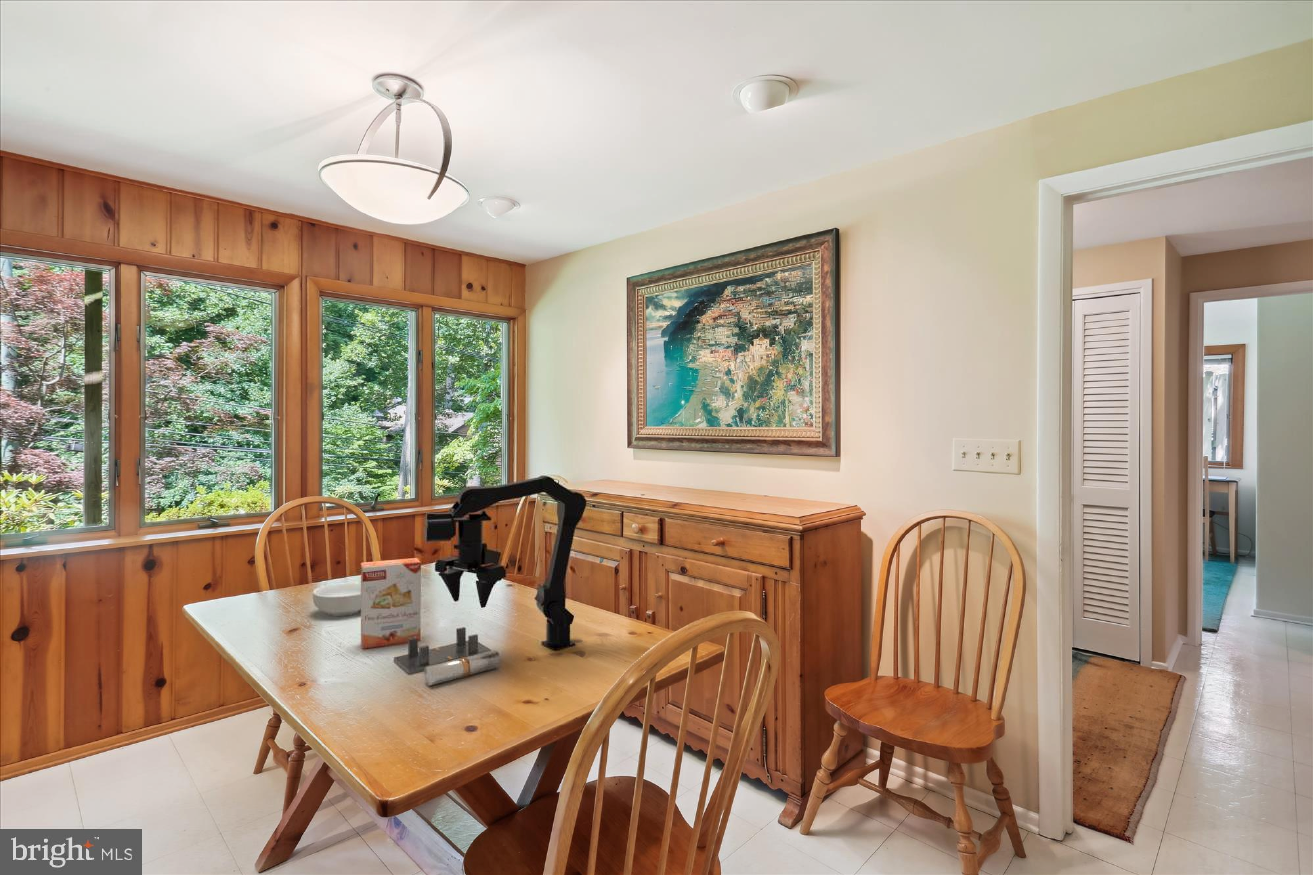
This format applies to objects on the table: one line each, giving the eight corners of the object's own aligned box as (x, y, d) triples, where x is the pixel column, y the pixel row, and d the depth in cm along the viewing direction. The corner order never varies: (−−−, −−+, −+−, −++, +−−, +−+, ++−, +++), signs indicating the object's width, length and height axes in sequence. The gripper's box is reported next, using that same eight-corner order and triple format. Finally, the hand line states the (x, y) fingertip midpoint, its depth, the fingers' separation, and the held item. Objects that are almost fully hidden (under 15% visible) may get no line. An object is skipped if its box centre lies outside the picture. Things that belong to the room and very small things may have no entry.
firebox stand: (491, 653, 157) (491, 633, 157) (408, 674, 144) (408, 652, 144) (473, 642, 165) (473, 623, 165) (393, 661, 152) (393, 640, 152)
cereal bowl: (358, 621, 182) (358, 596, 182) (300, 620, 182) (300, 596, 182) (385, 604, 199) (385, 581, 199) (332, 603, 199) (332, 581, 199)
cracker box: (362, 650, 159) (361, 566, 159) (360, 642, 165) (359, 561, 164) (421, 641, 166) (421, 560, 165) (418, 634, 171) (417, 556, 171)
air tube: (492, 666, 150) (491, 648, 151) (500, 668, 147) (499, 650, 147) (424, 684, 140) (423, 665, 140) (431, 687, 137) (430, 667, 137)
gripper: (522, 538, 156) (522, 602, 156) (468, 530, 166) (468, 591, 166) (488, 546, 146) (487, 614, 147) (433, 537, 156) (433, 601, 157)
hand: (469, 604), depth 154 cm, fingers open, 9 cm apart
